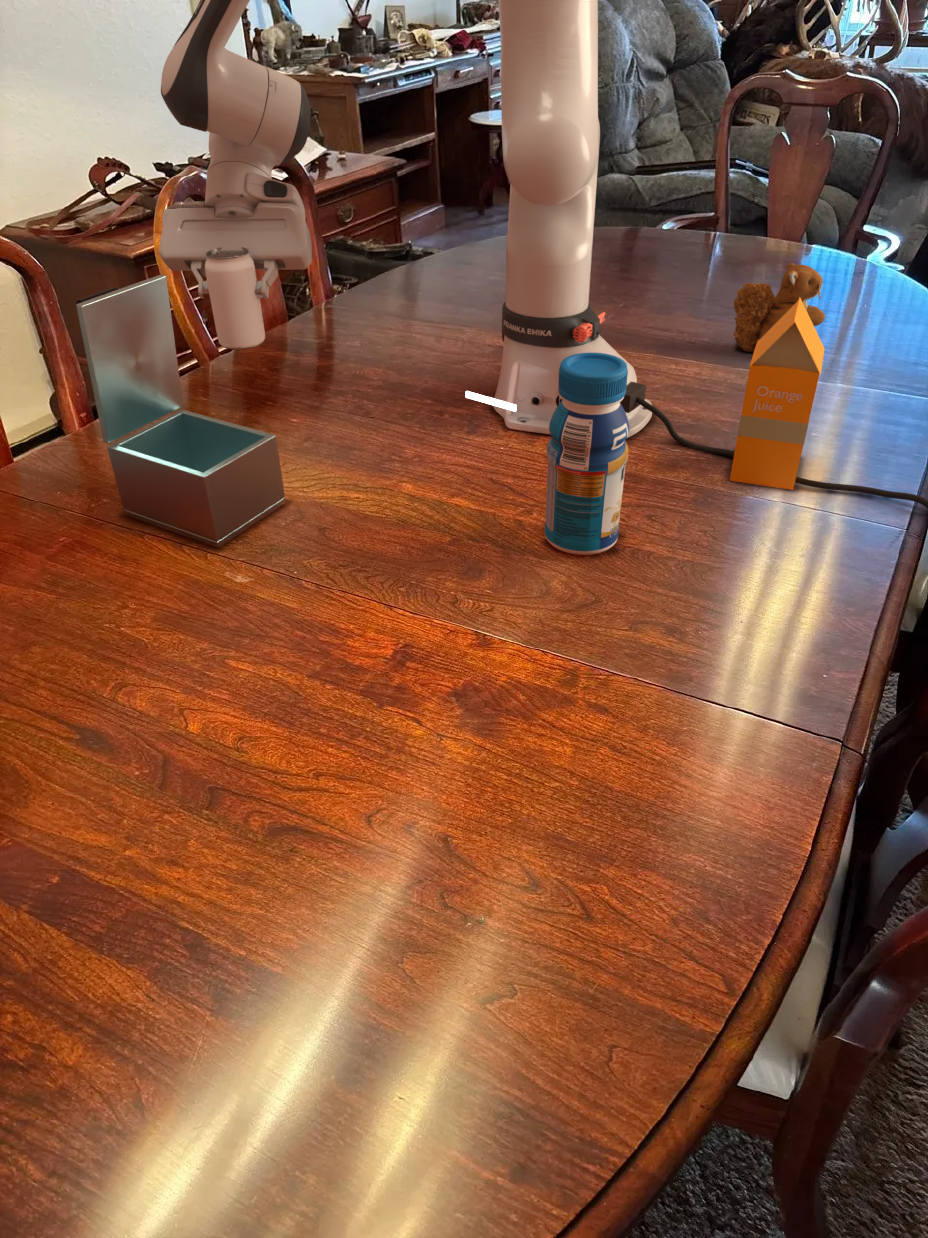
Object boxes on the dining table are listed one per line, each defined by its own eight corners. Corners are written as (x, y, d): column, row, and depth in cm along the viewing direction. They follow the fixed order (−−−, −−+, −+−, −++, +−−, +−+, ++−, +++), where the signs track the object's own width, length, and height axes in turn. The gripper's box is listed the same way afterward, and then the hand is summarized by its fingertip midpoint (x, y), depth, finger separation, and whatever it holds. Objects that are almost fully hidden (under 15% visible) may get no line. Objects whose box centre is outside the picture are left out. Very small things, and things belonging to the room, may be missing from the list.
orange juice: (728, 480, 112) (757, 317, 101) (737, 449, 119) (765, 293, 107) (794, 490, 110) (832, 324, 98) (800, 458, 117) (836, 299, 105)
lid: (166, 275, 100) (131, 264, 102) (81, 306, 92) (45, 293, 94) (183, 406, 110) (151, 393, 112) (108, 443, 102) (75, 429, 104)
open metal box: (286, 503, 109) (276, 434, 104) (218, 548, 101) (203, 477, 96) (195, 474, 116) (182, 408, 110) (125, 515, 108) (106, 446, 102)
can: (255, 351, 124) (240, 259, 117) (211, 349, 126) (193, 258, 118) (273, 335, 130) (259, 246, 122) (230, 332, 131) (214, 244, 124)
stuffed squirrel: (814, 365, 142) (834, 278, 134) (721, 355, 146) (734, 269, 138) (818, 344, 149) (836, 259, 141) (729, 334, 153) (742, 252, 145)
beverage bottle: (529, 527, 104) (535, 355, 92) (595, 512, 107) (609, 342, 95) (565, 565, 98) (576, 385, 86) (633, 547, 100) (654, 371, 89)
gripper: (155, 188, 123) (148, 285, 121) (307, 186, 122) (302, 284, 120) (172, 215, 129) (166, 308, 127) (316, 213, 128) (313, 307, 126)
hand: (233, 296), depth 123 cm, fingers closed on can, 6 cm apart
